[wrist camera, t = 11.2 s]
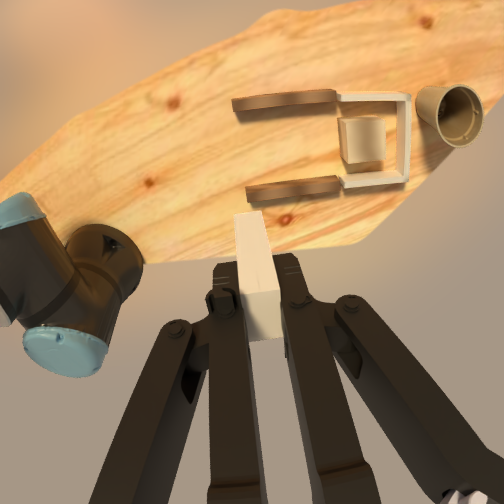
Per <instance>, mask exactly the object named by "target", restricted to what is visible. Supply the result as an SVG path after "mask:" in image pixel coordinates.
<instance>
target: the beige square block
mask: <svg viewBox="0 0 504 504" xmlns="http://www.w3.org/2000/svg"><path fill="white" fill-rule="evenodd" d="M337 121H338V133H339V145H340V156H341V157H342V158H343V159H344V160H345V161H346V162H347V163H348V164H351V163H360V162H368V161H377V160H386V128H385V120H384V119H382V118H380V117H378V116H376V115H365V116H352V117H341V118H337Z"/></svg>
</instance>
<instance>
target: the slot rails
mask: <svg viewBox="0 0 504 504" xmlns="http://www.w3.org/2000/svg"><path fill="white" fill-rule="evenodd" d="M334 101H337V95H336V91H335V90H332V89H323V90H307V91H295V92H284V93H274V94H265V95H257V96H249V97H242V98H235V99H232V107H233V112H236V111H243V110H250V109H258V108H266V107H274V106H284V105H294V104H305V103H318V102H334ZM245 188H246V196H247V202H248V203H249V202H256V201H263V200H270V199H277V198H284V197H291V196H299V195H307V194H315V193H323V192H331V191H340V190H341V182H340V180H339V179H338V178H337V176H336V175H333V176H324V177H315V178H307V179H299V180H291V181H283V182H276V183H268V184H261V185H254V186H247V187H245Z"/></svg>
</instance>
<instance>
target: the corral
mask: <svg viewBox="0 0 504 504" xmlns="http://www.w3.org/2000/svg"><path fill="white" fill-rule="evenodd" d="M336 95H337V100H339V101H341V102H346V101H396V109H397V137H396V170H386V171H374V172H363V173H353V174H343V175H339V180H340V182H341V184H342V185H343V187H344V188H352V187H361V186H371V185H381V184H391V183H402V182H409V170H410V152H411V94H408V93H405V92H395V91H356V92H336Z"/></svg>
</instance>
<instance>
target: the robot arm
mask: <svg viewBox="0 0 504 504" xmlns="http://www.w3.org/2000/svg"><path fill="white" fill-rule="evenodd" d="M234 226H235V240H236V253H237V261H233V262H226V263H218V264H217V265H216V267H215V268H214V270H213V289H212V290H210V291H209V292H208V294H207V295H206V298H205V300H206V304H207V307H208V311H209V315H208V316H207V317H205V318H204V319H202V320H200V321H198V322H196V323H193V324H190V323H189V322H188V321H186V320H182V319H178V320H173V321H170V322H168V323H167V324H165V325H164V326H163V327H162V329H161V330H160V332H159V335H158V337H157V339H156V341H155V343H154V346H153V348H152V350H151V352H150V354H149V357H148V359H147V361H146V363H145V366H144V368H143V370H142V372H141V375H140V377H139V379H138V382H137V384H136V386H135V388H134V391H133V393H132V395H131V398H130V400H129V402H128V405H127V407H126V410H125V412H124V414H123V417H122V419H121V422H120V424H119V426H118V429H117V431H116V434H115V436H114V439H113V441H112V444H111V446H110V449H109V451H108V454H107V457H106V459H105V462H104V464H103V466H102V469H101V472H100V474H99V477H98V480H97V482H96V485H95V487H94V490H93V493H92V496H91V498H90V501H89V504H168V501H169V497H170V494H171V491H172V487H173V484H174V480H175V477H176V473H177V470H178V466H179V463H180V460H181V456H182V453H183V450H184V446H185V443H186V439H187V435H188V432H189V429H190V426H191V422H192V419H193V416H194V412H195V409H196V406H197V402H198V399H199V395H200V392H201V389H202V385H203V382H204V378H205V375H206V370H208V369H209V434H210V469H211V483H210V486H209V488H208V492H207V504H268V500H267V493H266V484H265V476H264V468H263V460H262V451H261V442H260V434H259V425H258V417H257V408H256V399H255V390H254V381H253V372H252V363H251V354H250V348H249V342H252V341H260V340H267V339H273V338H280V337H283V336H284V345H285V346H284V347H285V358H287V362H288V367H289V372H290V378H291V383H292V388H293V393H294V398H295V403H296V408H297V414H298V419H299V425H300V429H301V435H302V441H303V446H304V451H305V456H306V462H307V467H308V473H309V478H310V484H311V490H312V501H313V504H381V500H380V496H379V492H378V488H377V485H376V481H375V478H374V474H373V471H372V468H371V467H370V465H369V464H368V463H367V462H366V461H365V460H364V457H363V454H362V451H361V447H360V444H359V440H358V437H357V433H356V429H355V426H354V422H353V419H352V416H351V412H350V409H349V405H348V402H347V399H346V395H345V392H344V389H343V386H342V382H341V379H340V376H339V373H338V369H337V366H336V363H335V360H334V357H335V358H336V360H337V361H338V363H339V364H340V366H341V368H342V369H343V370H344V372H345V374H346V375H347V376H348V378H349V380H350V381H351V383H352V384H353V385H354V387H355V389H356V390H357V392H358V393H359V395H360V396H361V398H362V399H363V401H364V402H365V404H366V405H367V407H368V408H369V410H370V411H371V413H372V414H373V415H374V417H375V419H376V420H377V422H378V423H379V425H380V426H381V428H382V430H383V431H384V433H385V434H386V436H387V437H388V439H389V440H390V442H391V443H392V445H393V446H394V448H395V449H396V451H397V452H398V454H399V455H400V457H401V458H402V460H403V462H404V463H405V465H406V466H407V468H408V469H409V471H410V472H411V474H412V475H413V477H414V479H415V480H416V481H417V483H418V485H419V486H420V487H421V488H422V490H423V491H424V493H425V494H426V495H427V496H428V497H429V498H430V499H431V500H432V501H433V502H434V503H435V504H504V459H503V458H502V457H500V456H499V455H497V454H495V453H494V452H492V451H490V450H489V449H487V448H486V446H485V445H484V444H483V442H482V441H481V440H480V439H479V437H478V436H477V434H476V433H475V432H474V430H473V429H472V428H471V426H470V425H469V424H468V423H467V421H466V420H465V419H464V417H463V416H462V415H461V414H460V412H459V411H458V410H457V409H456V407H455V406H454V405H453V404H452V402H451V401H450V400H449V399H448V397H447V396H446V395H445V393H444V392H443V391H442V390H441V388H440V387H439V386H438V385H437V384H436V382H435V381H434V380H433V379H432V377H431V376H430V375H429V374H428V373H427V372H426V370H425V369H424V368H423V366H422V365H421V364H420V363H419V362H418V360H417V359H416V358H415V357H414V356H413V355H412V353H411V352H410V351H409V350H408V349H407V347H406V346H405V345H404V344H403V343H402V342H401V340H400V339H399V338H398V337H397V336H396V335H395V333H394V332H393V331H392V330H391V329H390V328H389V327H388V325H387V324H386V323H385V322H384V321H383V320H382V319H381V317H380V316H379V315H378V314H377V313H376V312H375V311H374V310H373V308H372V307H371V306H370V305H369V304H368V303H367V302H366V301H365V300H364V299H363V298H362V297H359V296H357V295H344V296H342V297H340V298H339V299H338V300H337V301H336V303H325V302H320V301H318V300H316V299H314V298H313V296H312V295H311V294H310V293H309V291H308V288H307V285H306V282H305V279H304V276H303V274H302V270H301V267H300V264H299V261H298V258H296V257H295V256H294V255H293V254H292V253H286V254H280V255H272V253H271V249H270V245H269V241H268V237H267V232H266V228H265V224H264V220H263V216H262V212H261V211H254V212H247V213H239V214H234ZM142 273H143V260H142V257H141V254H140V252H139V250H138V248H137V246H136V245H135V244H134V242H133V241H132V240H131V239H130V238H129V237H128V236H126V235H125V234H124V233H122V232H121V231H119V230H117V229H115V228H113V227H110V226H107V225H102V224H91V225H86V226H83V227H81V228H79V229H78V230H76V231H75V232H74V233H73V234H72V236H71V237H70V239H69V240H68V242H67V243H66V245H65V248H64V246H63V245H62V243H61V241H60V240H59V238H58V237H57V235H56V233H55V232H54V230H53V228H52V227H51V225H50V223H49V222H48V220H47V218H46V214H45V213H43V212H42V211H41V209H40V208H39V206H38V204H37V203H36V201H35V200H34V198H33V197H32V196H31V195H30V194H29V193H26V192H19V193H17V194H15V195H13V196H11V197H10V198H8V199H6V200H5V201H3V202H1V203H0V327H8V326H10V325H11V324H12V322H13V321H14V320H15V319H17V320H18V321H19V322H20V324H21V325H22V326H23V327H24V328H25V330H26V331H25V333H24V334H23V346H24V350H25V352H26V353H27V355H28V356H29V357H30V358H31V359H32V360H33V361H35V362H36V363H37V364H38V365H40V366H42V367H43V368H45V369H47V370H49V371H51V372H54V373H56V374H60V375H63V376H67V377H74V378H75V377H76V378H81V377H88V376H91V375H93V374H95V373H96V372H97V371H98V370H99V369H100V368H101V366H102V363H103V360H104V358H105V355H106V354H107V353H108V348H109V344H110V341H111V337H112V333H113V330H114V326H115V323H116V320H117V317H118V313H119V310H120V307H121V304H122V303H123V302H124V301H125V300H126V299H127V298H128V296H130V295H131V294H132V293H133V292H134V291H135V290H136V288H137V286H138V285H139V282H140V279H141V276H142ZM333 356H334V357H333Z"/></svg>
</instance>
